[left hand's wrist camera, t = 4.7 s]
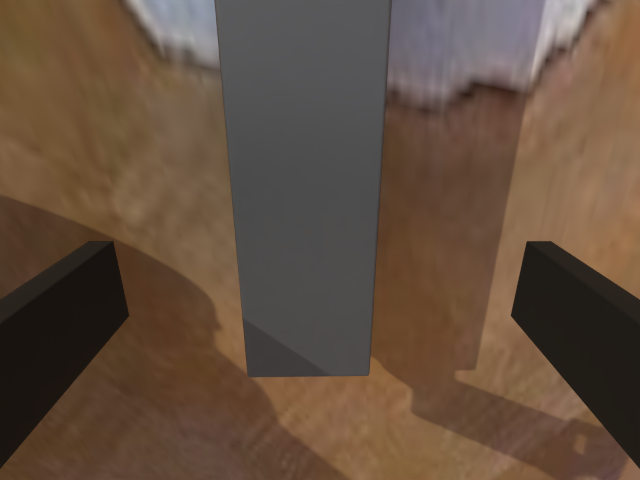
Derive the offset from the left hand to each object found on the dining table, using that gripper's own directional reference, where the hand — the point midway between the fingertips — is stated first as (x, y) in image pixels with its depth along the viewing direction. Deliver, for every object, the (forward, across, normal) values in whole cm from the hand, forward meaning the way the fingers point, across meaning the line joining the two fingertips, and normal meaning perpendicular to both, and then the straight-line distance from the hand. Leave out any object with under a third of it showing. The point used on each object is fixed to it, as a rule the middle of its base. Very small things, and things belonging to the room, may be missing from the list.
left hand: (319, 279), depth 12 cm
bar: (+8, +1, -7) cm, 11 cm away
